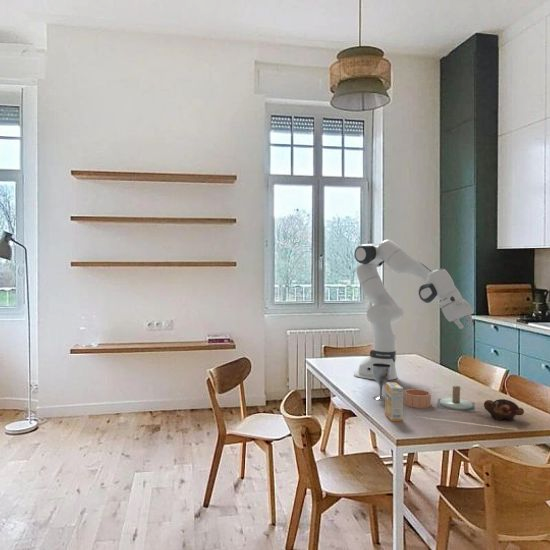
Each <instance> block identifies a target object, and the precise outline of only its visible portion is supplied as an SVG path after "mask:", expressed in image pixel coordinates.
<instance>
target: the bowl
mask: <svg viewBox="0 0 550 550" xmlns="http://www.w3.org/2000/svg"><path fill="white" fill-rule="evenodd" d="M403 405H405V406H407V407H410V408H411V407H412V408H418V409H426V408H430V407H431V405H432V393H431V392H430V391H429V390H424V389H417V388H409V389H403Z"/></svg>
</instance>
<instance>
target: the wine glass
mask: <svg viewBox="0 0 550 550" xmlns="http://www.w3.org/2000/svg"><path fill="white" fill-rule="evenodd" d="M372 370H373V376H374V378H375V379H376V380H375V381H376V383H378V386H379V395H375V396H372V399H373V400H375V401H379V402H380V401H381V402H382V401H384V402H385V395H383V393H382V392H383V386H384V385H385V384H386V383H387V381H389V380H388V378H389V376H390V371H391V365H389V364H384V363H374V364H373V365H372Z"/></svg>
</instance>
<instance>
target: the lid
mask: <svg viewBox="0 0 550 550" xmlns="http://www.w3.org/2000/svg"><path fill="white" fill-rule="evenodd" d="M440 399H441V400H440V405H441V406H443V407H446V408H450V409H456V410H455V411H457V410H468V409H471V408H472V403H471V401H468V400H466V399H462V398H461V386H459V385H452V396H451V397H445V398H440Z"/></svg>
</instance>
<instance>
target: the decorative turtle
mask: <svg viewBox="0 0 550 550" xmlns="http://www.w3.org/2000/svg"><path fill="white" fill-rule="evenodd" d="M483 408H484V409H485V410H486V412H488V413H489V414H490V416H491V417H493V418H494V419H495V420H496V421H498V422H500V421H503V420H504V419H505V420H506V421H508V422H513V420H514V419H515V417H516V416H522V415H524V412H525V410H524V408H522V407H519V405H518V404H517V403H515V402H513V401H512V400H510V399H504V398H500V399H499V398H498V399H496V400H492V399H487V400H485V401H484V403H483Z"/></svg>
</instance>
